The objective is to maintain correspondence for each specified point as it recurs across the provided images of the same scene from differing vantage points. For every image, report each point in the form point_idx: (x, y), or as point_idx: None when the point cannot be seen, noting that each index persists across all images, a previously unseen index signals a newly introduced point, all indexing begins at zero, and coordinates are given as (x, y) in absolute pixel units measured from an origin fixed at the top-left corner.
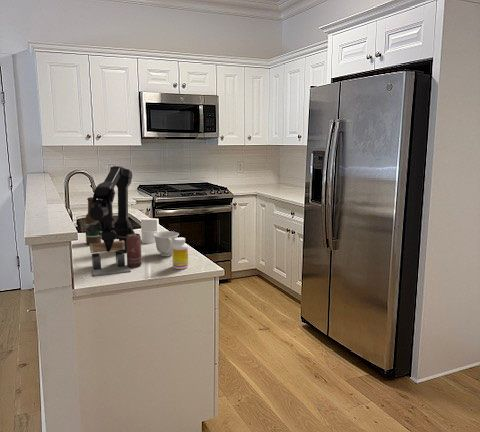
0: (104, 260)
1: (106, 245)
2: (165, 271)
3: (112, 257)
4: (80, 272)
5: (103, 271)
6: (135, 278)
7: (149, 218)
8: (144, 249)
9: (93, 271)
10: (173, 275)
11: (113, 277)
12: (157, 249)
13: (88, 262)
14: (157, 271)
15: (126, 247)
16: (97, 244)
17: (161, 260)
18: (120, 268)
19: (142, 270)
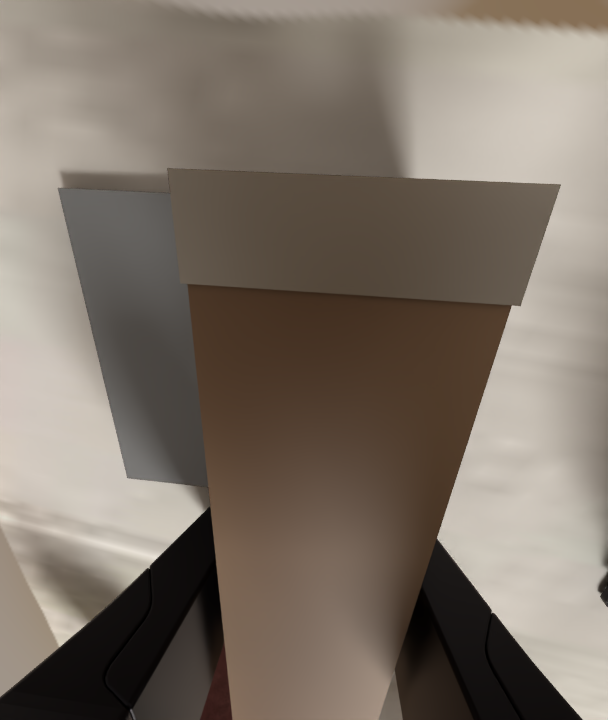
0: (528, 377)
1: (158, 575)
2: (106, 596)
3: (569, 453)
4: (238, 50)
5: (148, 303)
6: (4, 461)
7: None
8: (591, 649)
9: (171, 209)
10: (41, 600)
11: (32, 349)
12: (400, 709)
13: (582, 208)
14: (113, 573)
15: (220, 674)
16: (269, 443)
17: None
18: (192, 436)
19: (148, 527)
